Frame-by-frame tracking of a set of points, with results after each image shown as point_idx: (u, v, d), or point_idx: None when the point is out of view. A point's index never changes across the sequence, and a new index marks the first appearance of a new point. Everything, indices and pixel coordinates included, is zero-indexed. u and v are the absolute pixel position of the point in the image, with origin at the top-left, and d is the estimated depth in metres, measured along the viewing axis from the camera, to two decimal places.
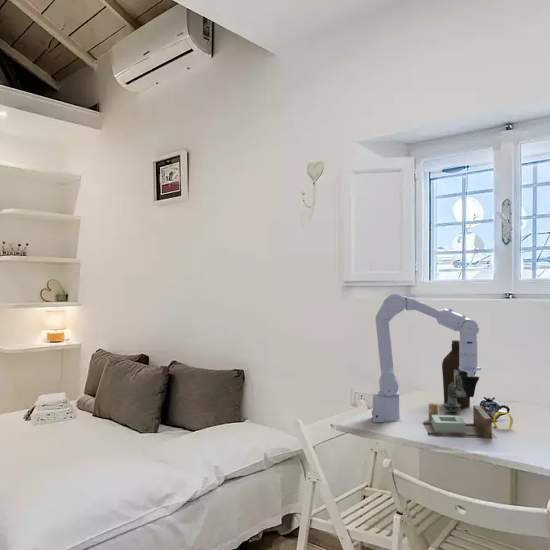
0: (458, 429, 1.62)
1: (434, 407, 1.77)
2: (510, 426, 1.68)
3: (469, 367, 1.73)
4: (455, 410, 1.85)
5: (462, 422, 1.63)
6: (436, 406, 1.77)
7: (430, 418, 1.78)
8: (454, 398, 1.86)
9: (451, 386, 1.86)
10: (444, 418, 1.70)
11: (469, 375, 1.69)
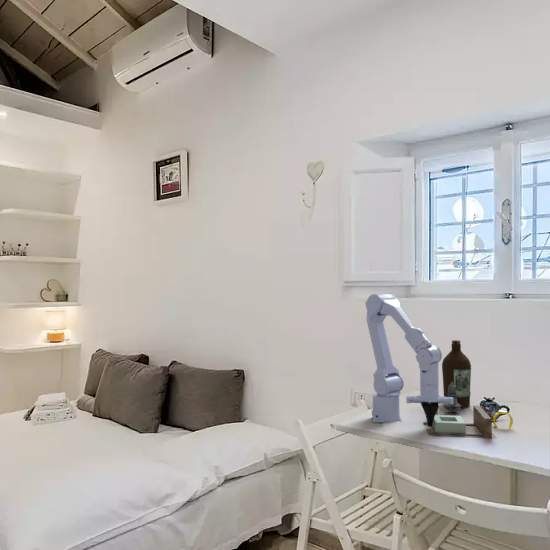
0: (459, 429, 1.62)
1: None
2: (510, 426, 1.68)
3: (420, 395, 1.68)
4: (455, 410, 1.85)
5: (463, 422, 1.63)
6: None
7: None
8: (454, 398, 1.86)
9: (451, 386, 1.86)
10: (445, 418, 1.70)
11: (406, 400, 1.70)
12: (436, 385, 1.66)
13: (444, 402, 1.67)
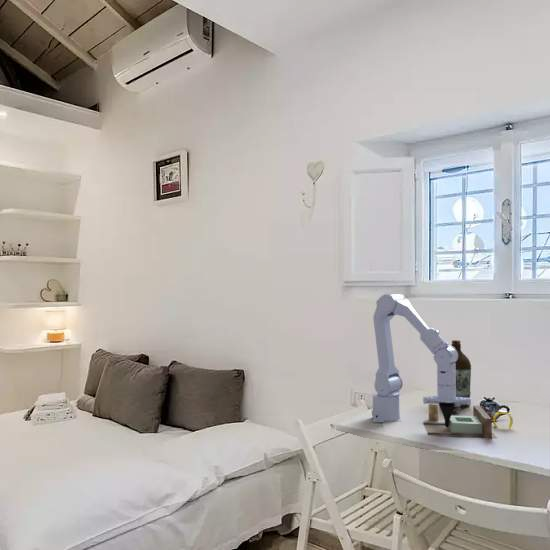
0: (475, 429, 1.62)
1: (434, 407, 1.77)
2: (510, 426, 1.68)
3: (437, 396, 1.68)
4: (455, 410, 1.85)
5: (479, 423, 1.62)
6: (436, 406, 1.77)
7: (430, 418, 1.78)
8: None
9: None
10: (460, 418, 1.69)
11: (423, 401, 1.69)
12: (453, 385, 1.65)
13: (461, 403, 1.66)
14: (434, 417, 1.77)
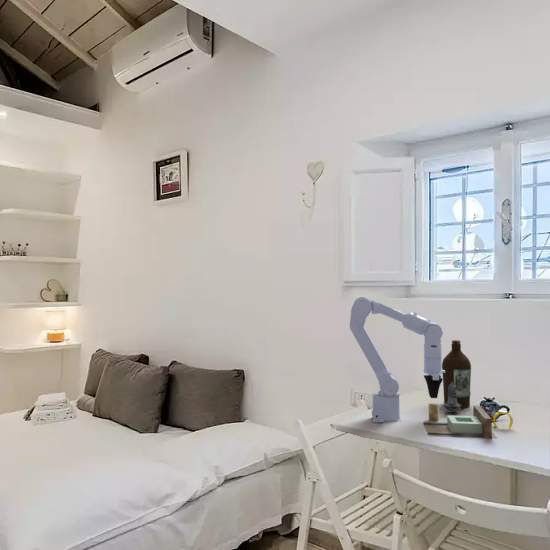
0: (475, 429, 1.62)
1: (434, 407, 1.77)
2: (510, 426, 1.68)
3: (434, 370, 1.76)
4: (455, 410, 1.85)
5: (479, 423, 1.62)
6: (436, 406, 1.77)
7: (430, 418, 1.78)
8: (454, 398, 1.86)
9: (451, 386, 1.86)
10: (460, 418, 1.69)
11: (434, 378, 1.71)
12: None
13: None
14: (434, 417, 1.77)
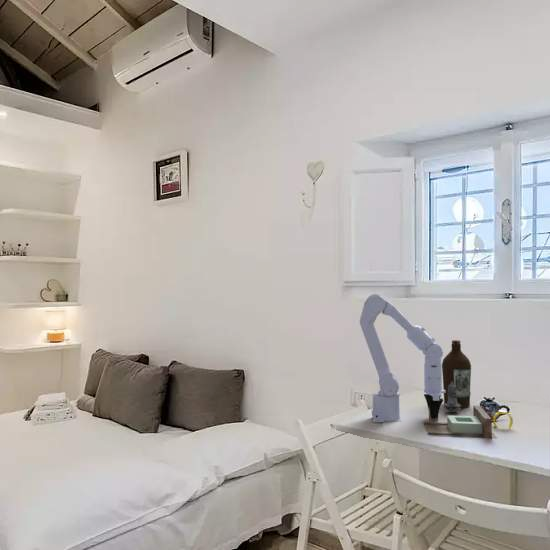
0: (475, 429, 1.62)
1: None
2: (510, 426, 1.68)
3: (434, 390, 1.76)
4: (455, 410, 1.85)
5: (479, 423, 1.62)
6: None
7: (430, 418, 1.78)
8: (454, 398, 1.86)
9: (451, 386, 1.86)
10: (460, 418, 1.69)
11: (434, 399, 1.71)
12: None
13: None
14: None
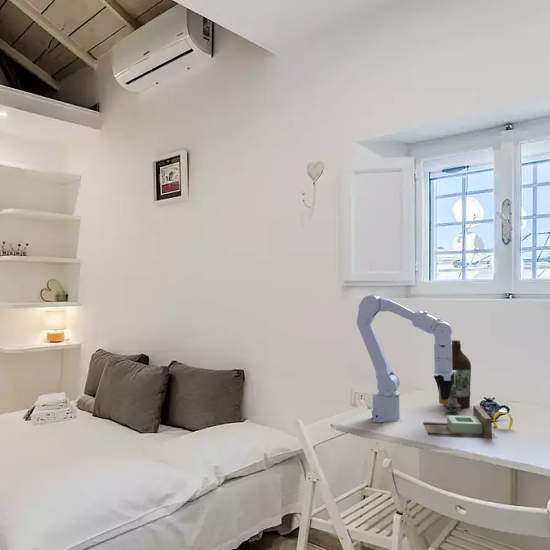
0: (475, 429, 1.62)
1: None
2: (510, 426, 1.68)
3: (445, 371, 1.71)
4: (455, 410, 1.85)
5: (479, 423, 1.62)
6: None
7: (440, 399, 1.73)
8: (454, 398, 1.86)
9: None
10: (460, 418, 1.69)
11: (445, 379, 1.67)
12: None
13: None
14: None
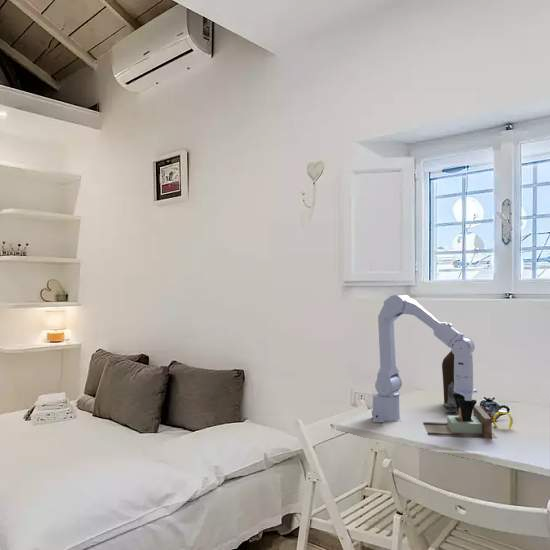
0: (475, 429, 1.62)
1: None
2: (510, 426, 1.68)
3: (465, 390, 1.64)
4: (455, 410, 1.85)
5: (479, 423, 1.62)
6: None
7: None
8: None
9: (451, 386, 1.86)
10: None
11: (466, 399, 1.59)
12: None
13: None
14: None
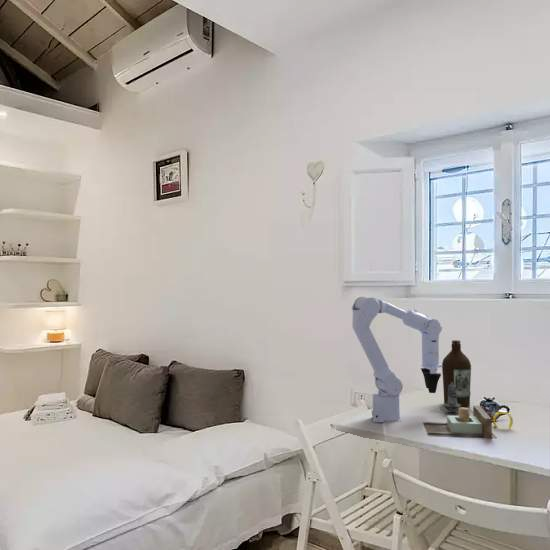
0: (475, 429, 1.62)
1: (465, 411, 1.65)
2: (510, 426, 1.68)
3: (431, 364, 1.82)
4: (455, 410, 1.85)
5: (479, 423, 1.62)
6: (467, 411, 1.65)
7: None
8: (454, 398, 1.86)
9: (451, 386, 1.86)
10: None
11: (432, 372, 1.77)
12: None
13: None
14: None
